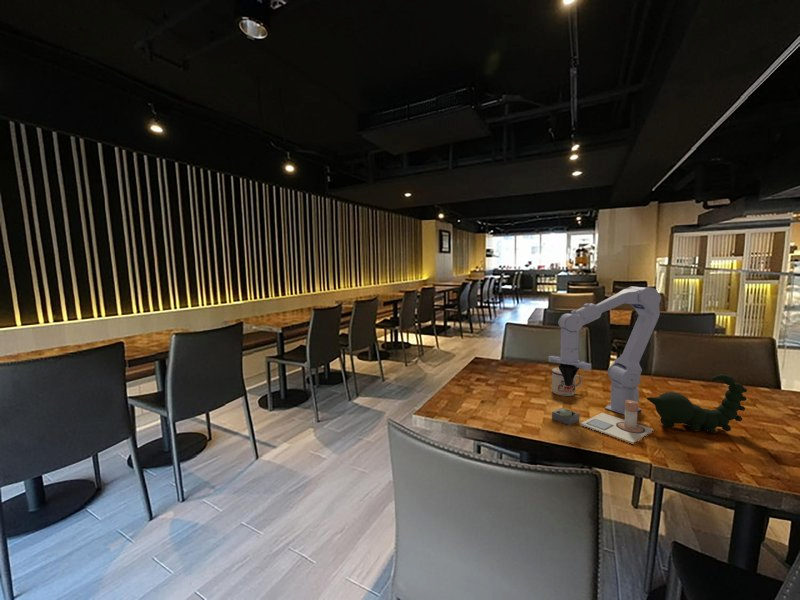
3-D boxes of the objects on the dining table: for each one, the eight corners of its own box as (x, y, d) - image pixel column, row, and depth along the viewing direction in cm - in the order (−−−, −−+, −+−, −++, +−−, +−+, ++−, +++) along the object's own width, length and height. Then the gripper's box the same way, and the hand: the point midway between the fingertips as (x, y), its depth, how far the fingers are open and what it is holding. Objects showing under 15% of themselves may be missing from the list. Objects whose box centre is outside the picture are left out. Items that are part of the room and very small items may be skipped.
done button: (563, 413, 116) (563, 408, 116) (573, 417, 113) (573, 411, 113) (557, 416, 114) (557, 410, 114) (567, 420, 111) (567, 414, 111)
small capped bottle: (626, 423, 108) (628, 399, 108) (639, 427, 106) (640, 402, 105) (621, 426, 107) (622, 401, 106) (634, 430, 104) (635, 405, 103)
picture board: (602, 414, 117) (602, 412, 117) (653, 431, 105) (653, 428, 105) (580, 425, 110) (580, 422, 110) (632, 445, 97) (632, 441, 97)
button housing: (561, 414, 118) (562, 407, 118) (579, 421, 113) (579, 413, 113) (551, 419, 115) (552, 412, 114) (569, 425, 110) (569, 418, 109)
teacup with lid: (557, 396, 135) (558, 367, 134) (547, 389, 144) (547, 361, 143) (587, 396, 135) (588, 367, 134) (575, 388, 144) (576, 361, 143)
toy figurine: (723, 430, 109) (636, 416, 114) (734, 372, 107) (644, 361, 112) (746, 444, 100) (650, 429, 105) (758, 382, 98) (659, 370, 103)
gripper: (544, 345, 124) (543, 382, 126) (584, 353, 112) (583, 393, 114) (555, 343, 128) (554, 378, 130) (594, 350, 116) (593, 389, 118)
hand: (568, 385), depth 122 cm, fingers closed
